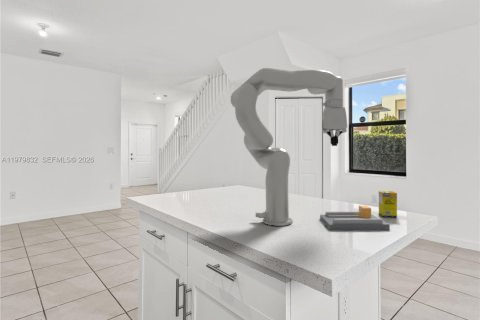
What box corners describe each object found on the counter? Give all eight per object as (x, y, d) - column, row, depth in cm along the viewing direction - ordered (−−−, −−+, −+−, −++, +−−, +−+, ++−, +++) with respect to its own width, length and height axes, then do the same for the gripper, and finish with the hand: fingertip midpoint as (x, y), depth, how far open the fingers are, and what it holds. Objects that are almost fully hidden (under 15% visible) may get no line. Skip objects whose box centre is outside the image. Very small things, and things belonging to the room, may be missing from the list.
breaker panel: (329, 229, 104) (329, 223, 104) (320, 219, 120) (320, 213, 120) (389, 229, 102) (389, 222, 102) (371, 218, 118) (371, 212, 118)
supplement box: (397, 217, 119) (397, 193, 119) (382, 217, 120) (382, 192, 120) (392, 214, 125) (392, 190, 125) (378, 214, 126) (378, 190, 126)
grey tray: (334, 223, 105) (334, 219, 105) (325, 215, 118) (325, 211, 118) (382, 223, 104) (382, 219, 104) (368, 215, 117) (368, 211, 117)
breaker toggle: (363, 220, 108) (363, 208, 108) (358, 217, 113) (358, 205, 113) (371, 220, 108) (371, 208, 108) (366, 217, 113) (366, 205, 113)
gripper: (319, 104, 120) (319, 146, 121) (353, 103, 119) (354, 145, 120) (315, 107, 128) (315, 146, 128) (348, 105, 127) (348, 145, 127)
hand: (334, 145), depth 124 cm, fingers closed
